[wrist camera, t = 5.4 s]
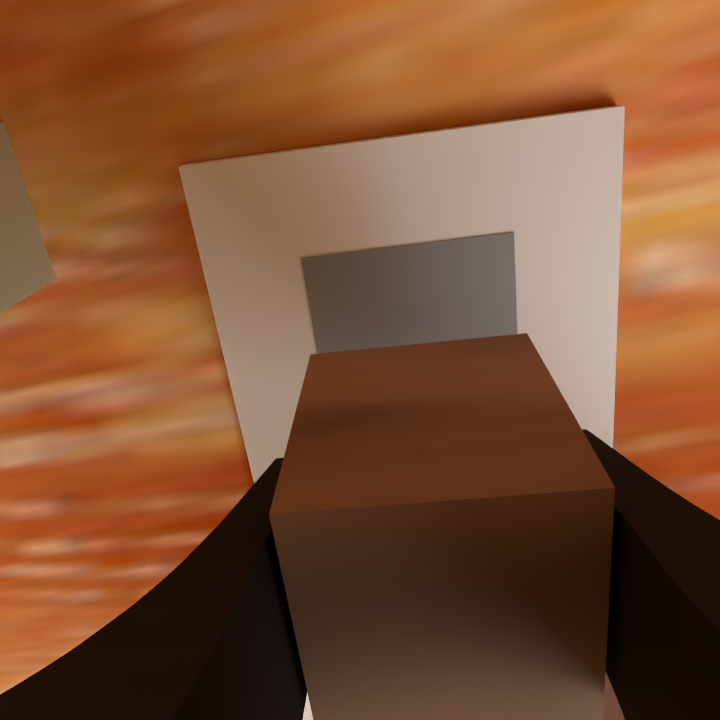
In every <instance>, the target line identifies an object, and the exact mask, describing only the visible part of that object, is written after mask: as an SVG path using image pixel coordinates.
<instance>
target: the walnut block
mask: <svg viewBox="0 0 720 720" xmlns="http://www.w3.org/2000/svg"><path fill="white" fill-rule="evenodd" d="M614 498H615V487H614V485H613V483H612V481H611V480H610V478H609V476H608V474H607V473H606V471H605V469H604V467H603V466H602V464H601V462H600V460H599V459H598V457H597V455H596V453H595V451H594V450H593V448H592V446H591V444H590V443H589V441H588V439H587V437H586V436H585V434H584V432H583V430H582V429H581V427H580V425H579V423H578V422H577V420H576V418H575V416H574V415H573V413H572V411H571V409H570V408H569V406H568V404H567V402H566V401H565V399H564V397H563V395H562V394H561V392H560V390H559V388H558V387H557V385H556V383H555V381H554V380H553V378H552V376H551V374H550V372H549V371H548V369H547V367H546V365H545V364H544V362H543V360H542V358H541V357H540V355H539V353H538V351H537V350H536V348H535V346H534V344H533V343H532V341H531V339H530V337H529V336H528V334H527V333H523V334H513V335H502V336H492V337H482V338H472V339H461V340H451V341H441V342H431V343H420V344H410V345H400V346H390V347H379V348H369V349H359V350H349V351H338V352H328V353H318V354H310V358H309V362H308V366H307V370H306V373H305V377H304V381H303V385H302V389H301V393H300V397H299V401H298V404H297V408H296V412H295V416H294V420H293V424H292V428H291V431H290V435H289V439H288V443H287V447H286V451H285V455H284V459H283V462H282V466H281V470H280V474H279V478H278V482H277V486H276V489H275V493H274V497H273V501H272V505H271V509H270V513H269V517H270V522H271V526H272V531H273V535H274V540H275V545H276V549H277V554H278V558H279V563H280V568H281V572H282V577H283V581H284V586H285V591H286V595H287V600H288V604H289V609H290V614H291V618H292V623H293V627H294V632H295V637H296V641H297V646H298V650H299V655H300V660H301V664H302V669H303V673H304V678H305V683H306V687H307V692H308V696H309V701H310V706H311V710H312V715H313V719H314V720H603V710H604V690H605V671H606V652H607V633H608V613H609V594H610V575H611V556H612V537H613V517H614Z"/></svg>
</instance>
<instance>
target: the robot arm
mask: <svg viewBox="0 0 720 720" xmlns="http://www.w3.org/2000/svg"><path fill="white" fill-rule="evenodd" d="M583 432H584V434H585V436H586V437H587V439H588V441H589V443H590V444H591V446H592V448H593V450H594V451H595V453H596V455H597V457H598V459H599V460H600V462H601V464H602V466H603V467H604V469H605V471H606V473H607V474H608V476H609V478H610V480H611V481H612V483H613V485H614V487H615V498H614V517H613V537H612V556H611V575H610V594H609V613H608V633H607V652H606V671H605V690H604V710H603V720H720V520H718V519H717V518H715V517H713V516H712V515H710V514H708V513H707V512H705V511H703V510H702V509H700V508H699V507H697V506H695V505H694V504H692V503H690V502H689V501H687V500H686V499H684V498H683V497H681V496H680V495H678V494H676V493H675V492H673V491H672V490H670V489H669V488H667V487H666V486H664V485H663V484H662V483H660V482H659V481H657V480H656V479H654V478H653V477H651V476H650V475H649V474H647V473H646V472H644V471H643V470H642V469H640V468H639V467H637V466H636V465H635V464H633V463H632V462H630V461H629V460H628V459H626V458H625V457H624V456H622V455H621V454H620V453H618V452H617V451H616V450H614V449H613V448H611V447H610V446H609V445H607V444H606V443H605V442H603V441H602V440H601V439H599V438H598V437H597V436H595V435H594V434H592V433H591V432H590V431H588V430H587V429H583ZM283 459H284V458H276V459H275V460H274V461H273V462H272V463H271V465H270V466H269V467H268V468H267V469H266V470H265V472H264V473H263V474H262V475H261V476H260V477H259V479H258V480H257V481H256V482H255V483H254V485H253V486H252V487H251V488H250V489H249V491H248V492H247V493H246V494H245V495H244V496H243V498H242V499H241V500H240V501H239V502H238V504H237V505H236V506H235V507H234V508H233V509H232V510H231V511H230V513H229V514H228V515H227V516H226V517H225V518H224V519H223V520H222V522H221V523H220V524H219V525H218V526H217V527H216V528H215V529H214V530H213V531H212V532H211V533H210V534H209V535H208V536H207V537H206V538H205V539H204V541H203V542H202V543H201V544H200V545H199V546H198V547H197V548H196V549H195V550H194V551H193V552H192V553H191V554H190V555H189V556H188V557H187V558H186V559H185V560H184V561H183V562H182V563H181V564H180V565H179V566H178V567H177V568H175V569H174V570H173V571H172V572H171V573H170V574H169V575H168V576H167V577H166V578H164V579H163V580H162V581H161V582H160V583H159V584H158V585H156V586H155V587H154V588H153V589H152V590H150V591H149V592H148V593H147V594H146V595H144V596H143V597H142V598H141V599H140V600H139V601H137V602H136V603H135V604H134V605H132V606H131V607H130V608H129V609H127V610H126V611H125V612H123V613H122V614H121V615H119V616H118V617H116V618H115V619H114V620H112V621H111V622H110V623H108V624H107V625H106V626H104V627H103V628H101V629H100V630H99V631H97V632H96V633H95V634H93V635H92V636H91V637H89V638H88V639H87V640H85V641H84V642H82V643H81V644H80V645H78V646H77V647H75V648H74V649H72V650H71V651H69V652H68V653H66V654H65V655H63V656H62V657H60V658H59V659H57V660H56V661H54V662H53V663H51V664H50V665H48V666H47V667H45V668H43V669H42V670H40V671H39V672H37V673H35V674H34V675H32V676H30V677H29V678H27V679H26V680H24V681H22V682H21V683H19V684H17V685H16V686H14V687H13V688H11V689H9V690H7V691H6V692H4V693H2V694H1V695H0V720H302V719H303V712H304V707H305V701H306V695H307V687H306V683H305V678H304V673H303V669H302V664H301V660H300V655H299V650H298V646H297V641H296V637H295V632H294V627H293V623H292V618H291V614H290V609H289V604H288V600H287V595H286V591H285V586H284V581H283V577H282V572H281V568H280V563H279V558H278V554H277V549H276V545H275V540H274V535H273V531H272V526H271V522H270V517H269V513H270V509H271V505H272V501H273V497H274V493H275V489H276V486H277V482H278V478H279V474H280V470H281V466H282V462H283Z"/></svg>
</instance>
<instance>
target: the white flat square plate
mask: <svg viewBox="0 0 720 720" xmlns="http://www.w3.org/2000/svg"><path fill="white" fill-rule="evenodd" d="M624 111H625V106H621V105H615V106H607V107H600V108H593V109H585V110H578V111H571V112H563V113H556V114H549V115H541V116H534V117H527V118H519V119H512V120H505V121H497V122H490V123H483V124H475V125H468V126H461V127H453V128H446V129H439V130H431V131H424V132H417V133H409V134H402V135H395V136H387V137H380V138H373V139H365V140H358V141H351V142H343V143H336V144H329V145H321V146H314V147H307V148H299V149H292V150H285V151H277V152H270V153H263V154H255V155H248V156H241V157H233V158H226V159H219V160H211V161H204V162H196V163H189V164H183V165H181V166H179V167H178V168H179V172H180V177H181V181H182V185H183V189H184V193H185V197H186V202H187V206H188V210H189V214H190V218H191V223H192V227H193V231H194V235H195V239H196V243H197V248H198V252H199V256H200V260H201V264H202V268H203V273H204V277H205V281H206V285H207V289H208V294H209V298H210V302H211V306H212V310H213V314H214V319H215V323H216V327H217V331H218V335H219V340H220V344H221V348H222V352H223V356H224V360H225V365H226V369H227V373H228V377H229V381H230V386H231V390H232V394H233V398H234V402H235V406H236V411H237V415H238V419H239V423H240V427H241V431H242V436H243V440H244V444H245V448H246V452H247V457H248V461H249V465H250V469H251V473H252V477H253V482H254V483H255V482H256V481H257V480H258V479H259V477H260V476H261V475H262V474H263V473H264V472H265V470H266V469H267V468H268V467H269V466H270V465H271V463H272V462H273V461H274V460H275V459H276V458H284V455H285V451H286V447H287V443H288V439H289V435H290V431H291V428H292V424H293V420H294V416H295V412H296V408H297V404H298V401H299V397H300V393H301V389H302V385H303V381H304V377H305V373H306V370H307V366H308V362H309V358H310V354H318V353H328V352H338V351H349V350H359V349H369V348H379V347H390V346H400V345H410V344H420V343H431V342H441V341H451V340H461V339H472V338H482V337H492V336H502V335H513V334H523V333H527V334H528V336H529V337H530V339H531V341H532V343H533V344H534V346H535V348H536V350H537V351H538V353H539V355H540V357H541V358H542V360H543V362H544V364H545V365H546V367H547V369H548V371H549V372H550V374H551V376H552V378H553V380H554V381H555V383H556V385H557V387H558V388H559V390H560V392H561V394H562V395H563V397H564V399H565V401H566V402H567V404H568V406H569V408H570V409H571V411H572V413H573V415H574V416H575V418H576V420H577V422H578V423H579V425H580V427H581V429H582V430H583V429H587V430H588V431H590V432H591V433H592V434H594V435H595V436H597V437H598V438H599V439H601V440H602V441H603V442H605V443H606V444H607V445H609V446H610V447H611V448H613V431H614V402H615V373H616V344H617V315H618V286H619V257H620V228H621V198H622V169H623V140H624Z"/></svg>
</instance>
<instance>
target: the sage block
mask: <svg viewBox="0 0 720 720" xmlns="http://www.w3.org/2000/svg"><path fill="white" fill-rule="evenodd" d="M54 280H56V276H55V273H54V270H53V267H52V264H51V261H50V258H49V255H48V252H47V249H46V246H45V243H44V240H43V237H42V235H41V232H40V229H39V226H38V223H37V220H36V217H35V214H34V211H33V208H32V205H31V202H30V199H29V196H28V193H27V190H26V187H25V184H24V181H23V178H22V175H21V172H20V169H19V167H18V164H17V161H16V158H15V155H14V152H13V149H12V146H11V143H10V140H9V137H8V134H7V131H6V128H5V125H4V122H2V123H0V313H2V312H3V311H5V310H7V309H8V308H10V307H12V306H13V305H15V304H16V303H18V302H20V301H21V300H23V299H25V298H26V297H28V296H30V295H31V294H33V293H34V292H36V291H38V290H39V289H41V288H43V287H44V286H46V285H48V284H49V283H51V282H52V281H54Z"/></svg>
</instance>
